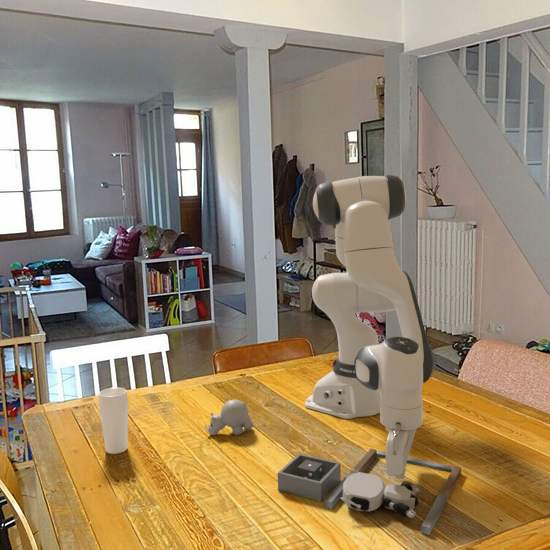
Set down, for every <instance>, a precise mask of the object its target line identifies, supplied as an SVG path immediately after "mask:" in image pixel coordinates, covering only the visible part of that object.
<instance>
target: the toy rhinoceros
mask: <svg viewBox="0 0 550 550" xmlns="http://www.w3.org/2000/svg"><path fill="white" fill-rule="evenodd" d="M209 413H210V415H211V417H210V420H209V422H210V423H209V424H210V425H208V426H207V425H206V424H204V428H205V430H206V431H207V432H208V434H209V435H210V436H217V435H218V434H219V433H220V431H222V430H224V428H225V427H229V428H231V430H232V432H233V435H234V436H236V437H237V436H240V435H242V434H243V433H244V430H245V431H248V430H251V429H252V428H253V427H254V425H255V424H254V422H253V420H252V417H251V416H250V414H249V409H248V406H247V404H246V403H245V402H244V401H242V400H239V399H236V398H235V399H230V400H227V401H226V402H225V403H224V404H222V407H221V409H220V412H219V413H217V414H214V413H212V412H209ZM243 428H244V429H243Z"/></svg>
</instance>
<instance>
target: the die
mask: <svg viewBox="0 0 550 550" xmlns="http://www.w3.org/2000/svg"><path fill="white" fill-rule="evenodd" d="M297 476H299V477H303V478H307V479H311V480H315V481H320V480H321V479H322V478H323V464H322V463H318V462H314V461H310V460H305V461H304V462H303V463H302V464H300V465H299V466H298V467H297Z"/></svg>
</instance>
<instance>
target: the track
mask: <svg viewBox="0 0 550 550" xmlns="http://www.w3.org/2000/svg"><path fill="white" fill-rule="evenodd" d="M376 457H379V458H385V459H386V451H382V450H381V451H380V450H377V449H374V448H370V449H369V450H368V451H367V452H366V453H365V455H364V456H363V457H362V458H361V459H360V460H359V461H358V462H357V463H356V465H354V467H353V468H352V469H354V470H355V471H358V472H361V473H364V472H365V470H366V469H367V468H368V467H369V466H370V464H372V462H373V461H374V460H375V459H376ZM407 463H409V464H413V465H418V466H422V467H426V468H427V467H428V468H431V469H432V468H433V469H436V470H441V471H446V472H450V473H449V475H448V477H447V478H446V480H445V482H444V484H443V486H442V488H441V489H440V491H439V493H438V495H437V497H436V498H435V501H434V502H433V504H432V506H431V507H430V509H429V511H428V513H427V515H426V516H425V518H424V520H423V522H422V524H421V529H420V530H421V531H420V532H421V534H422V535H423V534H424V535H427V536H431V533H432V531H433V530H434V527H435V526H436V523H437V522H438V520H439V518H440V516H441V514H442V512H443V511H444V510H443V509H444V508H445V506H446V504H447V502H448V500H449V499H450V496H451V495H452V492H453V490H454V488H455V487H456V485H457V483H458V481H459V479H460V477H461V475H462V467H460V466H455V465H454V466H453V465H447V464H444V463H439V462H433V461H429V460H423V459H420V458H414V457H408V461H407ZM354 473H356V472H353V471H352V470H351V469H350V471H349V472H348V474H347V475H345V477H344V478H343V479H342V480H340V481H339V483H338V484H337V485H336V486H335V487H334V488H333V489H332V490H331V492H330V493H329V494H328V495H327V496H326V497H325V498H324V508H326V509H329V510H333V508H334V507H335V506H336V504H337V503H338V502H339V501H340V500H341V497H343V483H344V481H345V480H346V479H347V478H348V477H349V476H350V475H352V474H354Z"/></svg>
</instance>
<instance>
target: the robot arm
mask: <svg viewBox="0 0 550 550" xmlns="http://www.w3.org/2000/svg"><path fill="white" fill-rule="evenodd" d="M404 185H405V184H404V183H403V180H402V179H401V178H399V176H397V175H392V174H384V175H363V176H357V177H350V178H344V179H340V180H339V179H338V180H335V181H332V180H329V181H326V182H322V183H320V184H318V186H317V187H316V189H315V192H314V195H313V198H312V207H313V208H312V209H313V213H314V214H315V216H316V217H317V220H318V222H320V223H321V224H322V225H324V226H329V227H332V229H334V238H335V240H334V241H335V253H336V254H335V255H336V257H337V259H338V261H339V262H340V263H341V265H342V266H344V267H345V270H346V272H331V273H326V274H322V275H321V274H320V275H318V277H317V278H316V279H315V280H314V282H313V285H312V287H311V297H312V300H313V303H314V305H315V306H316V307H317V308H318V309H320V310H321V311H322V312H323V313H325V314H326V316H327V317H328V318H329V319H330V321H331V322H332V324H333V326H334V329H335V331H336V334H337V335H336V336H337V344H338V355H337V356H336V358H335V359H333V360H332V362H331V363H330V368H332V370H331V371H330V372H329V373H327V374H326V375H324V376H323V377H322V378H320V379H319V380H317V382H316V383H315V385H314V386H313V391H312V392H313V393H312V394H311V395H310V396H308V397H307V399H305V402H304V406H305V408H307V409H310V410H314V411H317V412H320V413H325V414H327V415H332V416H335V417H339V418H342V419H345V420H346V419H347V420H349V419H353V418H354V419H355V418H360V417H363V418H364V417H371V416H375V415H378V414H379V421H380V424H381V425H382V426H383V427H385V430H386V432H388V435H387V439H386V443H385V444H386V446H385V452H386V458H385V464H384V465H385V467H384V468H385V469H384V470H385V473H386V475H388V476H393V477H395V478H396V479H399V480H400V479H402V480H403V479H404V478H405V474H406V470H407V469H406V468H407V463H408V462H407V461H408V457H409V456H410V452H411V450H412V445H413V442H414V438H415V433H416V432H417V429H419V428H420V427H421V426H422V425H423V412H424V411H423V409H424V408H423V406H424V405H423V404H424V402H423V401H424V399H423V396H422V389H423V385H424V384H426V383H427V382H428V381H429V379H430V378H431V376H432V375H433V373H434V371H435V368H436V357H435V354H434V352H433V349H432V347H431V344H430V343H429V340H428V336H427V333H426V329H425V324H424V321H423V318H422V313H421V311H420V310H421V309H420V305H419V302H418V298H417V295H416V292H415V288H414V284H413V282H412V279H411V277H410V275H409V274H408V272H406V271H405V270H403V269H402V268H401V267H400V264H399V262H398V260H397V258H396V254H395V250H394V243H393V235H392V230H391V226H390V225H391V224H390V221H389V220H392V219H395V218H397V217H400V216H401V215H402V214H403V212H404V211H405V207H406V204H407V199H408V198H407V191H406V187H405V186H404ZM394 311H395V312H396V316H397V319H398V324H399V327H400V332H401V335H402V336H391V337H388V338H386V339H384V340H383V342H382V343H379V335H378V332H377V331H376V330H375V328H374V327H372V326H371V325H369V324H367V323H365V322H363V321H361V320H360V319H359V318H358V316H357V315H356V314H357V313H376V314H377V313H380V314H381V313H382V314H383V313H387V312H389V313H390V312H394Z"/></svg>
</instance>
